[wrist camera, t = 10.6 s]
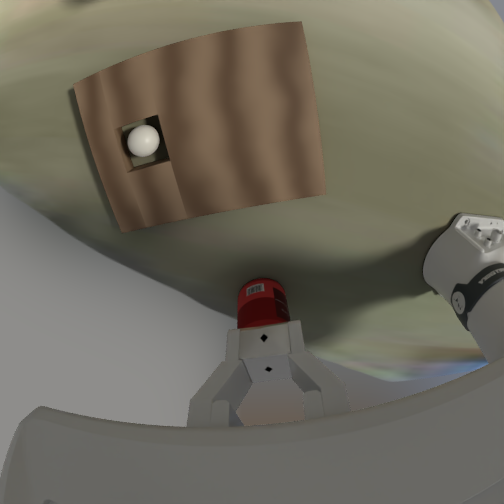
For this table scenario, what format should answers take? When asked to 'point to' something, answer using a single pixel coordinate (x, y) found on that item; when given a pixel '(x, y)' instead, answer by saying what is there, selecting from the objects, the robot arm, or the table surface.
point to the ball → (143, 140)
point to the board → (208, 125)
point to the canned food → (262, 304)
